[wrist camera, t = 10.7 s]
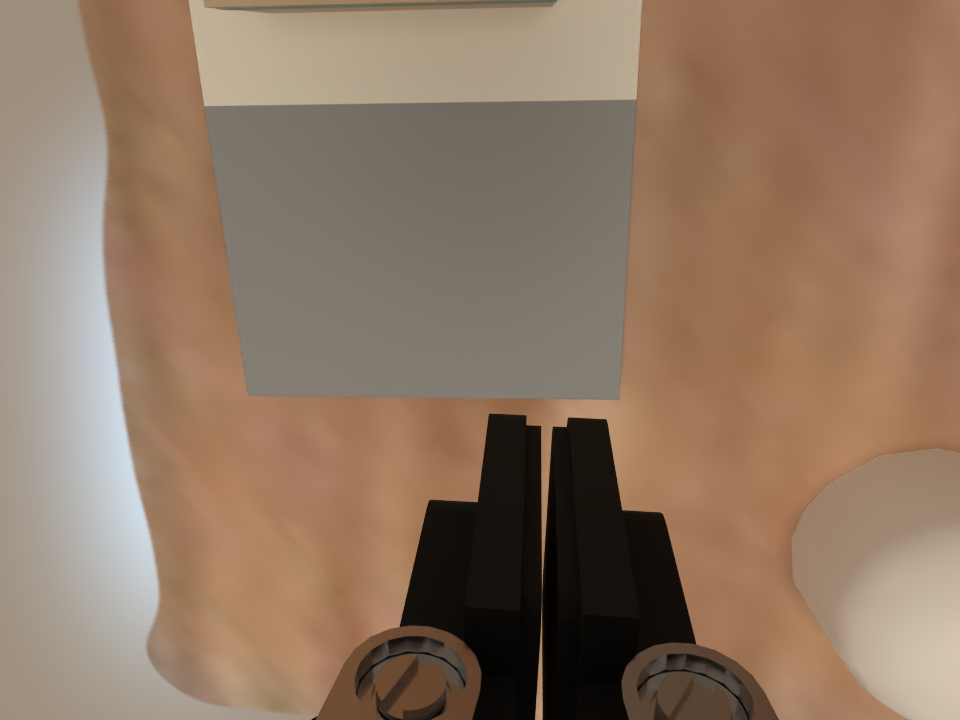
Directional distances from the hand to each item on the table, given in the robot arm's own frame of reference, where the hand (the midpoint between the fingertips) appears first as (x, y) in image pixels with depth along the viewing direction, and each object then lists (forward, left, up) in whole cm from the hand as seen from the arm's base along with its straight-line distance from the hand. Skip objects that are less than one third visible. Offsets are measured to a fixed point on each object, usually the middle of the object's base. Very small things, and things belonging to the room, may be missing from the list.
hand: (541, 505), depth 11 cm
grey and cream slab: (-5, -4, -23) cm, 24 cm away
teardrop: (+17, +18, -23) cm, 34 cm away
